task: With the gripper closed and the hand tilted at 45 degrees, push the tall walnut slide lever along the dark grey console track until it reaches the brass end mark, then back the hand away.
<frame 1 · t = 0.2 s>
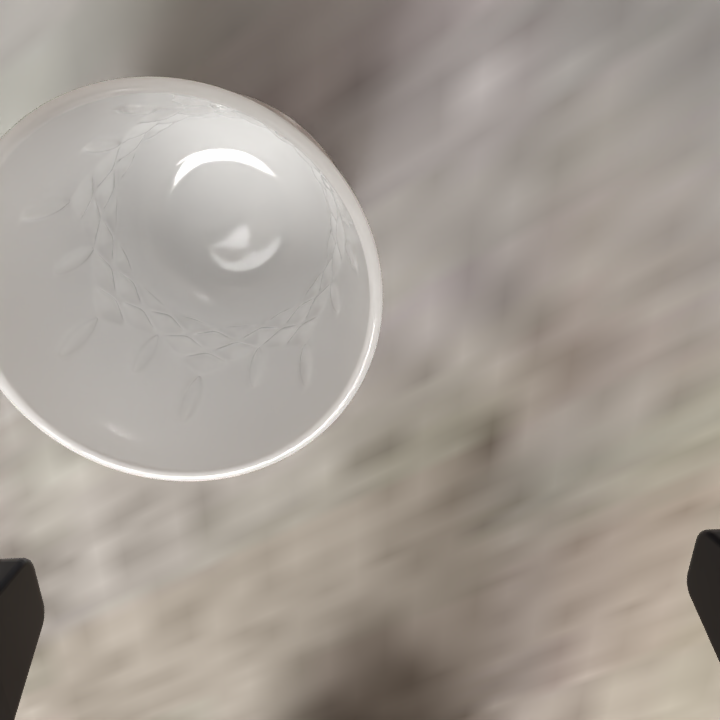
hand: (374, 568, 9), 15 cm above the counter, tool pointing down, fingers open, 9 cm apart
white cup: (236, 209, 22), on the counter
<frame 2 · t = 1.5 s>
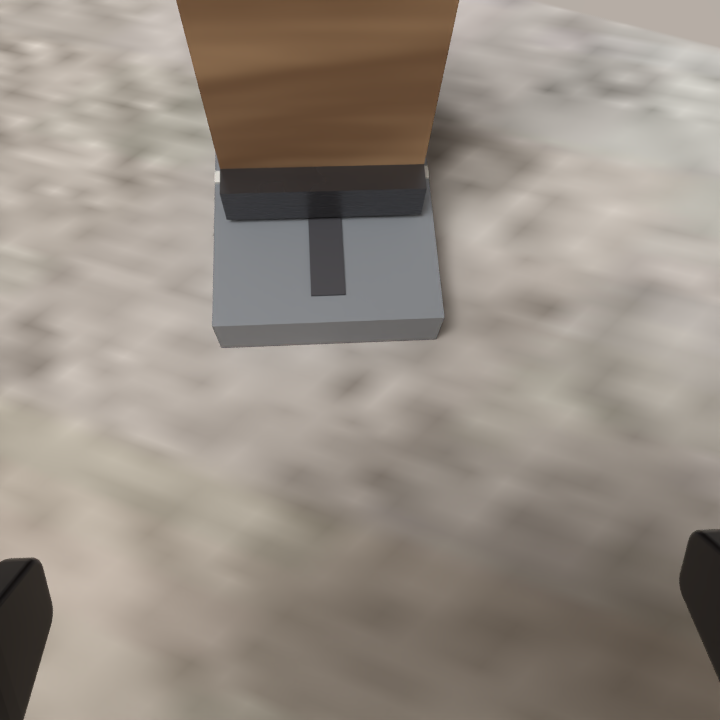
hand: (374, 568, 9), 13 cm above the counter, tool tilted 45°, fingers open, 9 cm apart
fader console: (321, 174, 27), on the counter
slide lever: (319, 36, 18), point 8 cm above the counter, slide at 0.0 cm
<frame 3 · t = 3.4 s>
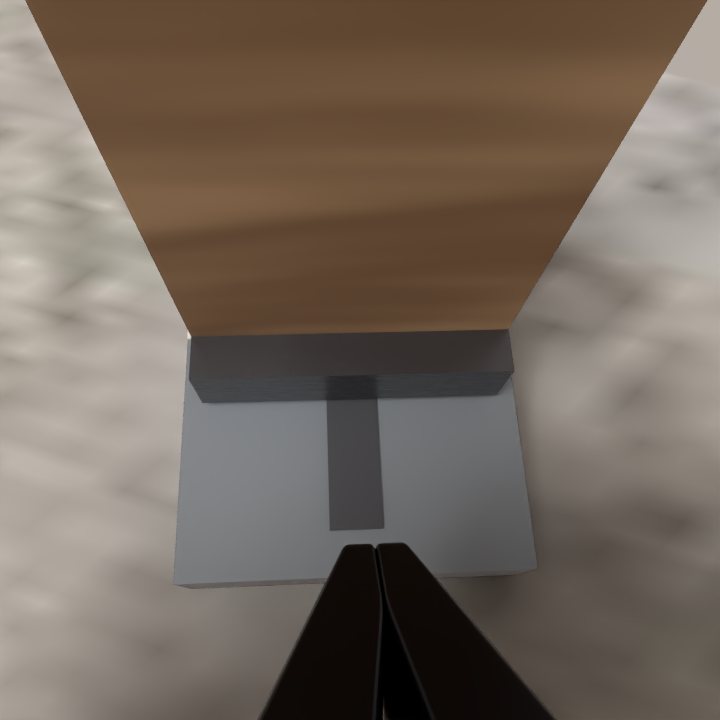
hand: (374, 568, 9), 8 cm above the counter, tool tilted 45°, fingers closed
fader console: (344, 309, 19), on the counter
slide lever: (357, 160, 10), point 8 cm above the counter, slide at 0.0 cm
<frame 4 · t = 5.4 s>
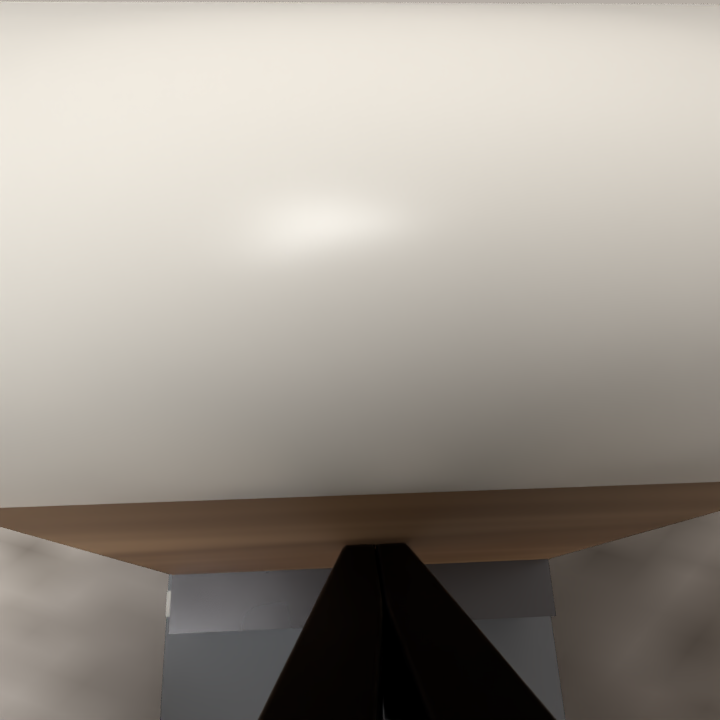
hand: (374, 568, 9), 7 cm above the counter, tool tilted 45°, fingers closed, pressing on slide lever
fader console: (354, 533, 16), on the counter
slide lever: (375, 457, 8), point 8 cm above the counter, slide at 1.5 cm, touching gripper
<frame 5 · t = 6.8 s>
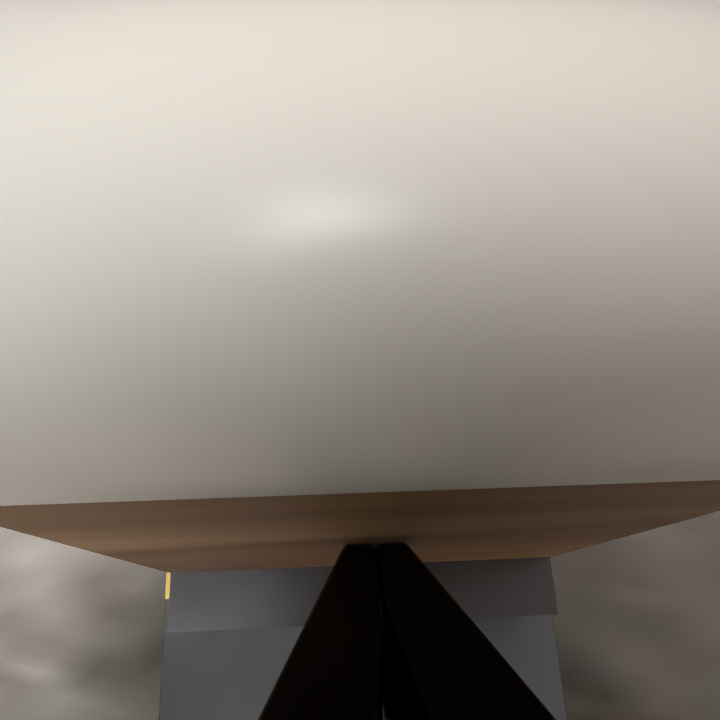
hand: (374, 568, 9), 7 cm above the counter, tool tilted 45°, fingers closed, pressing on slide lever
slide lever: (375, 454, 8), point 8 cm above the counter, slide at 8.0 cm, touching gripper
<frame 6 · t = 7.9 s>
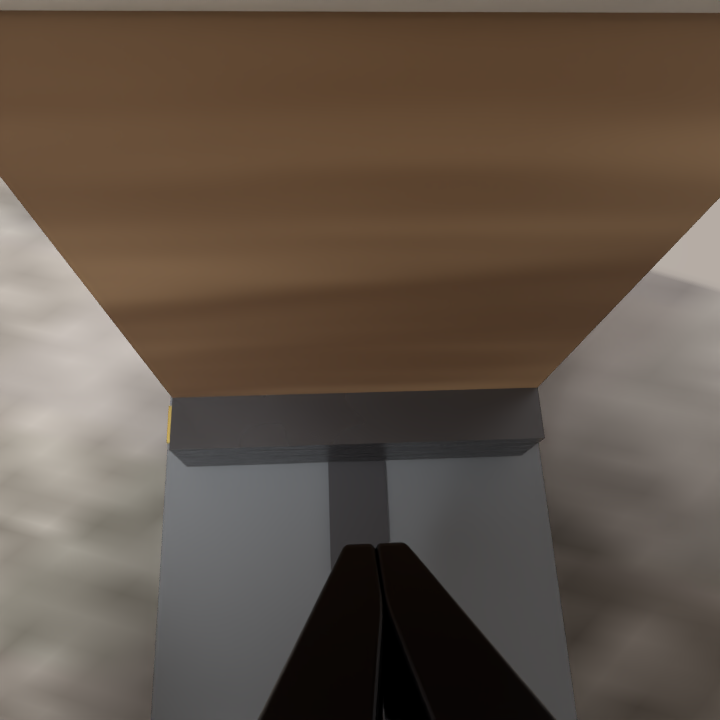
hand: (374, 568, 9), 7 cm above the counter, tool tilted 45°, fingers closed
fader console: (361, 688, 14), on the counter
slide lever: (367, 215, 9), point 8 cm above the counter, slide at 8.0 cm
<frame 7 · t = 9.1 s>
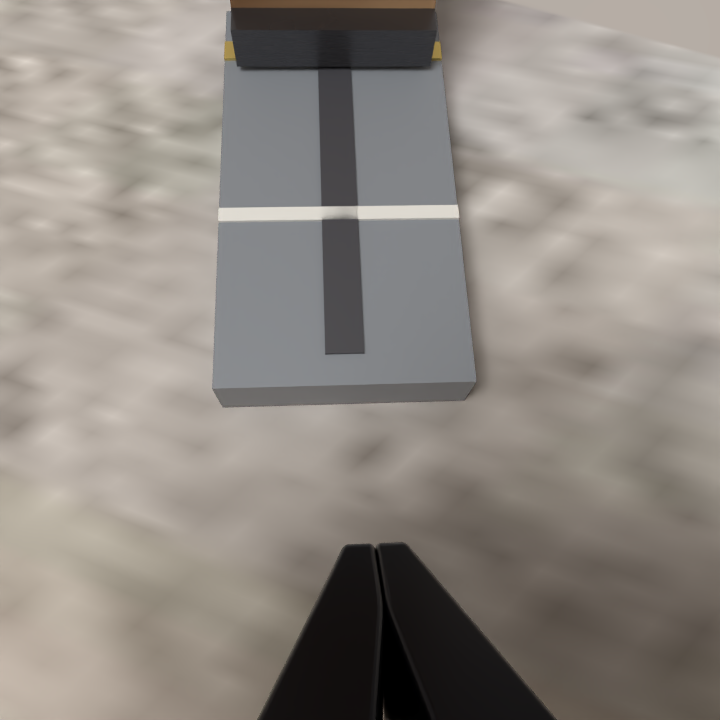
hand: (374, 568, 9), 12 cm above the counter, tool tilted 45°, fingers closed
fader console: (337, 209, 24), on the counter
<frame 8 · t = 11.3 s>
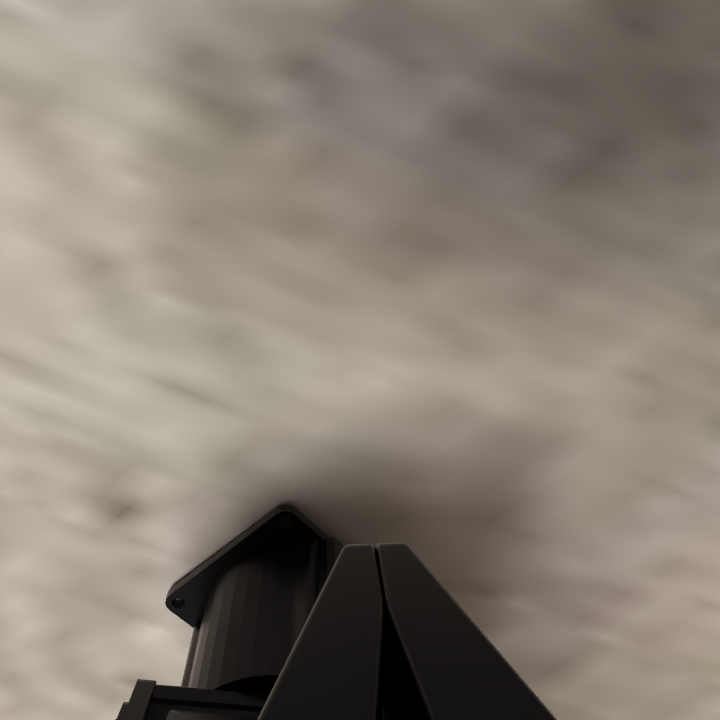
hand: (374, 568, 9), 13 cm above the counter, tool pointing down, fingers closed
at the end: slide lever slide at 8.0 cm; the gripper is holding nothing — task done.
